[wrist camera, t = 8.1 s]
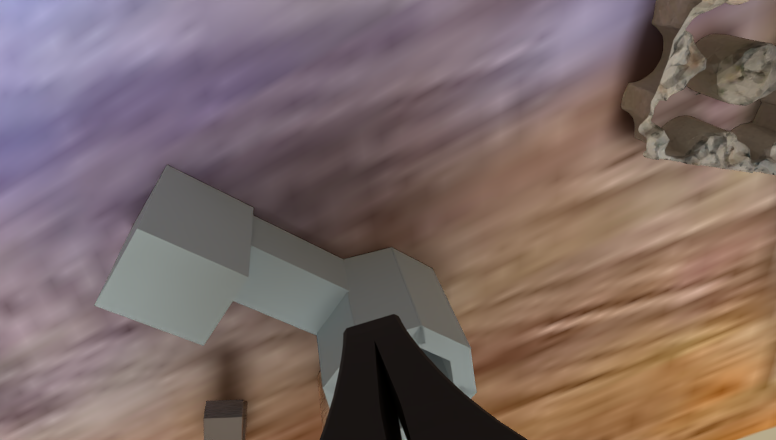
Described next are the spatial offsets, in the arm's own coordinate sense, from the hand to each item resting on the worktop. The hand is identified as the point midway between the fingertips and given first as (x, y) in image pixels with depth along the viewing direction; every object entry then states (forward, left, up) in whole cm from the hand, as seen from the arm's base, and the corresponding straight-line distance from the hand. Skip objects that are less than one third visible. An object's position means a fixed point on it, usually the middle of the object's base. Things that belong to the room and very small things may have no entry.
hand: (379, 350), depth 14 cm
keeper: (-7, +8, -9) cm, 14 cm away
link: (-3, +3, -9) cm, 10 cm away
